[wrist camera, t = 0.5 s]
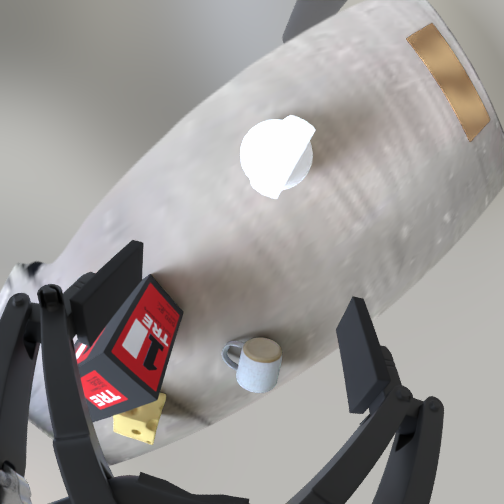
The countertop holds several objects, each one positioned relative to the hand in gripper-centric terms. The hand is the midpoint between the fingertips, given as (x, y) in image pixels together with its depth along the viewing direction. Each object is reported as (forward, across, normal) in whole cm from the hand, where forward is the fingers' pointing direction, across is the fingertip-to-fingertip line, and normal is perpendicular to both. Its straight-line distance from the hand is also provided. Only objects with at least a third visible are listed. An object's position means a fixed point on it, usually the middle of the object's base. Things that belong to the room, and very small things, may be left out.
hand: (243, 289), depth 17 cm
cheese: (+20, -16, -52) cm, 58 cm away
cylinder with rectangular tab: (+27, -1, +5) cm, 28 cm away
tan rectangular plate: (+33, +28, +30) cm, 52 cm away
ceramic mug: (+24, +5, -30) cm, 39 cm away
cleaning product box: (+22, -18, -26) cm, 39 cm away
